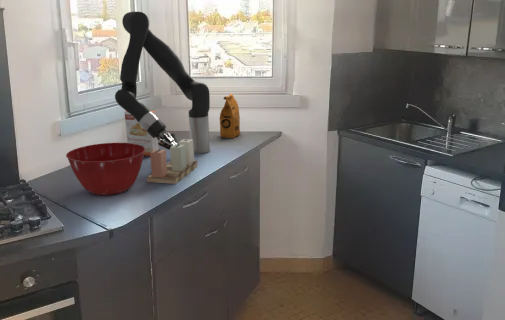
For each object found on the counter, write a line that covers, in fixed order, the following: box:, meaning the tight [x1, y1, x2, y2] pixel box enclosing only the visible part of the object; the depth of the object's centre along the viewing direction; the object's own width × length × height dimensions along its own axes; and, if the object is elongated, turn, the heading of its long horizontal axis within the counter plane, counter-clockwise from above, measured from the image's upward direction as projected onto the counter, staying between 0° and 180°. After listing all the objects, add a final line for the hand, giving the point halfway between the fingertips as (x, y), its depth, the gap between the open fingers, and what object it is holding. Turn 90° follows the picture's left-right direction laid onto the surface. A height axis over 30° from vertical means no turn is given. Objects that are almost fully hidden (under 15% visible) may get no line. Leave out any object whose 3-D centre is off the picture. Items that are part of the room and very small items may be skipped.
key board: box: [146, 159, 198, 185], centre depth 213 cm, size 23×12×3 cm, turn 165°
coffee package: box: [219, 93, 241, 139], centre depth 274 cm, size 10×12×22 cm
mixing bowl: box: [65, 142, 145, 196], centre depth 194 cm, size 28×28×15 cm
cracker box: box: [124, 110, 160, 157], centre depth 242 cm, size 14×6×21 cm, turn 68°
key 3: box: [149, 148, 168, 177], centre depth 203 cm, size 4×4×10 cm
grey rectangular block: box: [178, 138, 195, 165], centre depth 219 cm, size 4×4×10 cm
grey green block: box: [169, 143, 186, 171], centre depth 210 cm, size 4×4×10 cm
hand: (180, 153), depth 220 cm, fingers closed
